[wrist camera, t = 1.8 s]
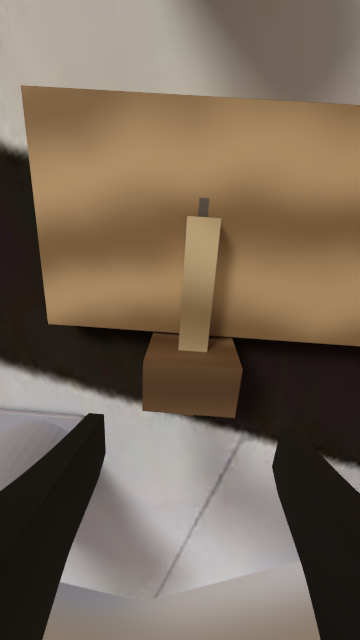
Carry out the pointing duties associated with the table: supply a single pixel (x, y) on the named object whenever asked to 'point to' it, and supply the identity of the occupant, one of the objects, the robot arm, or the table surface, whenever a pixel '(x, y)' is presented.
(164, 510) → the table surface
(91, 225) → the oak board
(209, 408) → the brown block with bar
